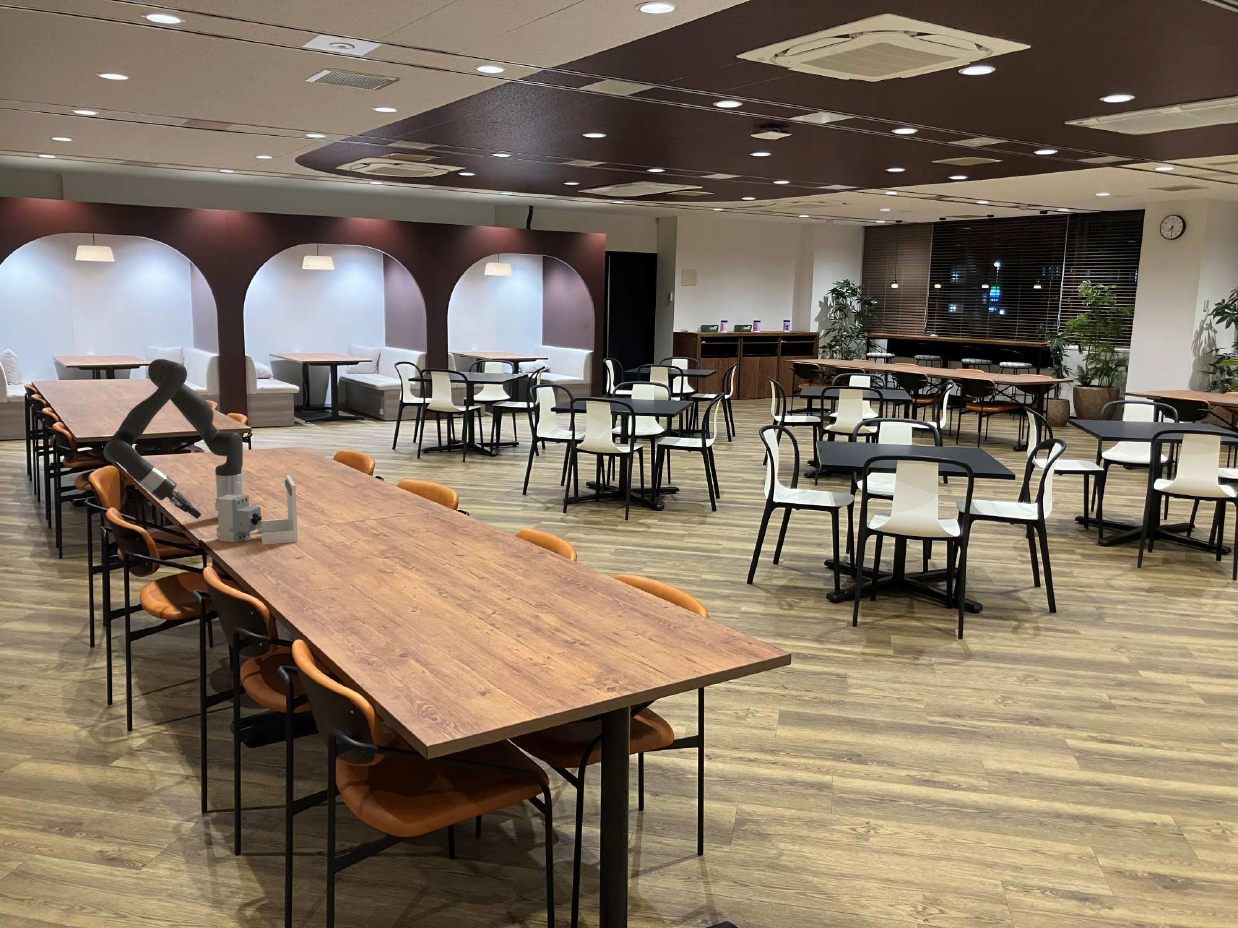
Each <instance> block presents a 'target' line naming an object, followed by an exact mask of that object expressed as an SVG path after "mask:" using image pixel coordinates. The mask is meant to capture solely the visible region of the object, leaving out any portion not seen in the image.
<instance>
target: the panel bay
mask: <svg viewBox="0 0 1238 928" xmlns="http://www.w3.org/2000/svg"><path fill="white" fill-rule="evenodd" d="M285 478H286V479H284V487H285V489H286V499H287V500H286V501H287V502H286V503H287V504H286V505H287V507H286V508H287V518H280V519H279V518H278V519H267V520H265V519H262V520H261V528H259V529H257V532H258V533H261V545H273V544H275V545H276V544H284V543H285V544H286V543H298V542H299V541H298V539H299V538H298V516H297V515H298V514H297V513H298V511H297V510H298V509H297V493H296V492H297V490H296V483H295V482H294V480H293V478H292V477H291V476H290V475H285Z"/></svg>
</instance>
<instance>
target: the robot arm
mask: <svg viewBox="0 0 1238 928" xmlns="http://www.w3.org/2000/svg"><path fill="white" fill-rule="evenodd" d="M147 374H148V377H149V379H150V382H151V383H153V385H154V386H156V387H157V389H156V390H155V391H154V392H153V393H152V394H150V395H149V396H148V397H147V398H145V399H144V400H142V401H141V402H139V403H138V404H136V405H135V406H134V407H133V408H132V409H131V410H129V412H128V413H127V414H126V417H125V418H124V419H123V421H122V422H121V424H120V426H119V427H118V429H117V431H116V432H115V433H114V434H113V435H112V437H111V438H110V439H109V440H108V442H106V444H105V446H104V449H103V456H104V458H105V460H106V461H108V462H109V463H110V462H111V463H114V464H118V465H120V466H121V467H122V468H123V469H125V471H126V473H127V474H128V475H129V476H130V477H131V478H132V479H133V480H135V481H136V482H137V483H138V484H140V485H141V486H142V487H143V488H144V489H145V490H146V491H148V493H151V495H152V496H154V497H155V498H156V499H158V500H159V501H164V500H165V499H166V498H167V499H169V503H171V505H174V506H175V508H178V509H180V510H182V511H183V512H184V513H188V514H189V515H191V516H192V517H193V518H194V519H197V520H198V519H199V518H200V517H201V516H202V513H201V512H200V511H199V510H198V509H197V508H196V507H194V506H193V504H192V503H191V501H189V500H188V498H186V497H185V496H184V495H183V494H182V493H181V492H180V491H176V490H175V489H176V487H177V483H176V482H175V481H174V480H172V479H171V478H170V477H169V476H167V475H166V474H165V473H164V472H162V471H161V470H160V469H158V468H156V467H155V466H154V465H152V464H151V463H150V462H149V461H147V460H146V459H145V458H143V457H142V456H141V454H140V453H139V452H138V451H137V450H136V449H135V448H134V447H133V446H134V444H135V442H136V441H138V440H139V438H140V437H141V436H142V435H143V434H144V432H145V431H146V429H147V427H148V425H150V423H151V421H153V419H154V418H155V416H156V415H157V414H158V413H159V412H160V411H161V410H162V408H163V407H164V406H165V405H166V404H167V403H168V402H169V401H171V402H172V404H173V405H174V406H175V407H176V408H177V409H178V411H179V412H180V413H181V414H182V416H183V417H184V419H186V421H187V422H189V424H191V426H192V427H193V428H194V429H195V431H196V432H197V433H198V434H199V435H200V437H201V439H202V440H203V442H204V443H205V445H206V447H207V448H208V449H209V451H210V452H211V453H212V454H213V455H215V456H219V457H226V460H225V463H223V464H219V465H217V466H216V467H215V470H214V471H215V486H216V487H215V489H216V490H215V491H216V498H219V497H223V496H225V495H228V494H229V495H244V494H243V493H244V492H243V477H242V476H243V475H242V471H243V470H242V468H243V464H244V463H243V462H244V459H243V458H244V455H243V454H244V442H243V438H242V436H241V434H240V433H238V432H234V431H221V430H219V429H218V428H217V427H216V426H215V425H214V423H213V421H214V418H215V417H214V415H215V414H214V410H213V408H212V407H211V406H210V404H209V403H208V401H207V400H206V399H205V398H204V397H203V396H202V395H201V394H200V393H198V392H197V391H195V390H194V389H193V388H191V387H189V386H188V385H187V384H185V383H186V380H187V378H188V370H187V368H186V366H185V365H184V364H182V363H179V362H176V361H172V360H169V359H165V358H157V359H153V360H152V361H151V362H150V364H149V365H148V368H147ZM218 508H219V507H217V509H218Z"/></svg>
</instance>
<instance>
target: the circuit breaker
mask: <svg viewBox="0 0 1238 928" xmlns="http://www.w3.org/2000/svg"><path fill="white" fill-rule="evenodd" d="M249 500H250V498H249V495H246V494H245V495H244V494H243V495H229V494H228V495H225V496H223V497H219V498H217V497H216V498H215V503H214V504H215V505H214V506H215V507H214V509H215V511H217V519H218V527H216V537H217V539H216V541H217V540H221V541H220V542H228V543H229V542H231V543H239V542H241V541H244V540H247V539H249V538H251V532H253V531H255V530H258V529H259V528H261V521H262V520H263V519H262V512H261V506H255V505H250V501H249ZM217 507H219V508H218V509H217Z"/></svg>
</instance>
